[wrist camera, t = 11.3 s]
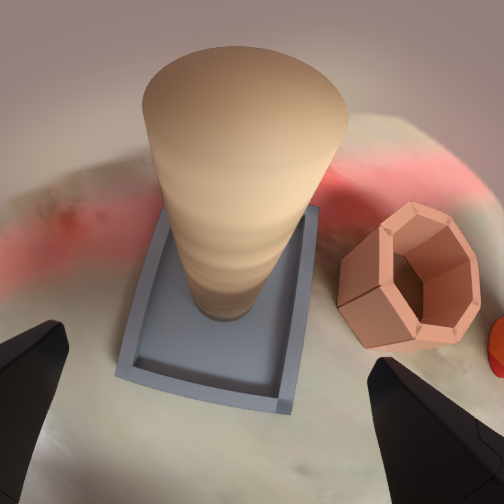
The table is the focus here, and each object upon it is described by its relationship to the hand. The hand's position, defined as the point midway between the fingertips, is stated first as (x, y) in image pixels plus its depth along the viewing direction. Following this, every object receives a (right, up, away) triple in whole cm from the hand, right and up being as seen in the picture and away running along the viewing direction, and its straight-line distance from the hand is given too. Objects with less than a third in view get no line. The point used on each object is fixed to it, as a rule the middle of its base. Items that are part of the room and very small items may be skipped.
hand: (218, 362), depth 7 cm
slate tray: (-1, +1, +9) cm, 9 cm away
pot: (+10, 0, +10) cm, 14 cm away
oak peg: (-1, +1, +9) cm, 9 cm away
